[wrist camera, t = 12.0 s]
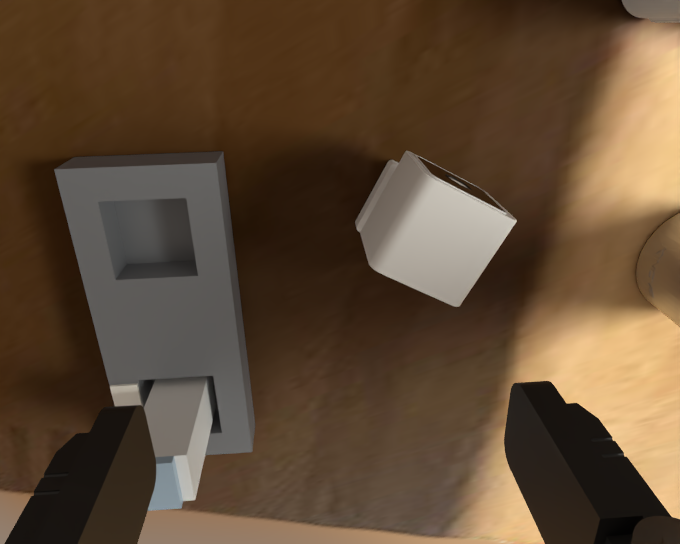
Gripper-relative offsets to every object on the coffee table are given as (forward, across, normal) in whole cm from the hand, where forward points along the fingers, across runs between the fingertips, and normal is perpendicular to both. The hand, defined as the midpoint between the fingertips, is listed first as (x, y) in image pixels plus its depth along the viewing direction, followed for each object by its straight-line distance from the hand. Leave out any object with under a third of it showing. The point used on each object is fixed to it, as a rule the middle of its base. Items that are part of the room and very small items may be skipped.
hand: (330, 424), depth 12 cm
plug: (+28, +11, +19) cm, 35 cm away
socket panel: (+28, +11, +12) cm, 32 cm away
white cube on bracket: (+28, -7, +4) cm, 29 cm away
